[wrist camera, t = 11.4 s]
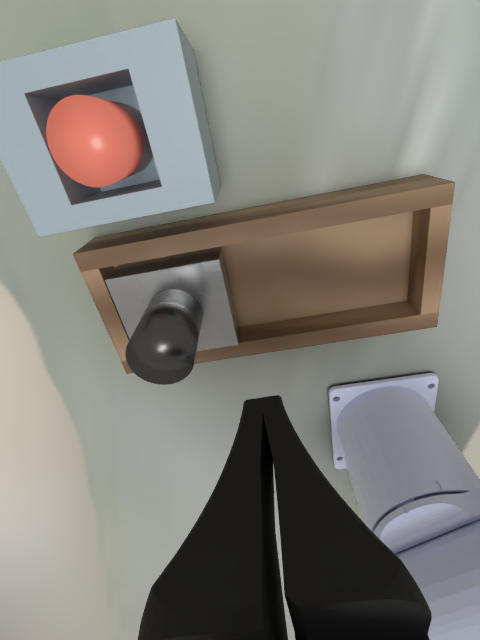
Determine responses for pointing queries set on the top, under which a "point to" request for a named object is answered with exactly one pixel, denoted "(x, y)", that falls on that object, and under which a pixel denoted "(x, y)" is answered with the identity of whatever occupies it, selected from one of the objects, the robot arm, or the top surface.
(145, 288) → the carriage
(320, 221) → the rail
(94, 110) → the button
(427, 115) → the top surface
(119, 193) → the button housing
